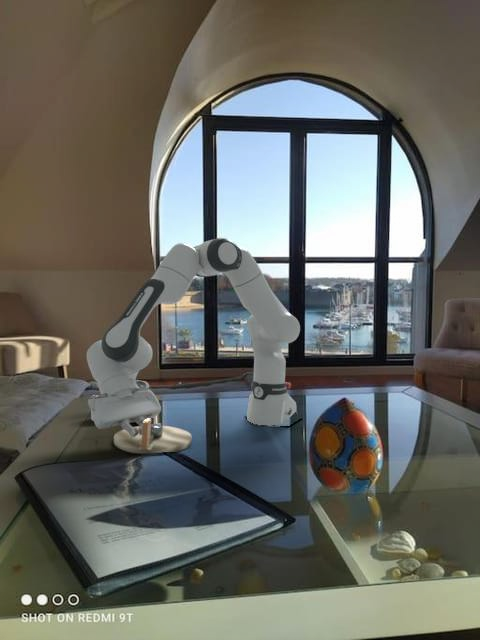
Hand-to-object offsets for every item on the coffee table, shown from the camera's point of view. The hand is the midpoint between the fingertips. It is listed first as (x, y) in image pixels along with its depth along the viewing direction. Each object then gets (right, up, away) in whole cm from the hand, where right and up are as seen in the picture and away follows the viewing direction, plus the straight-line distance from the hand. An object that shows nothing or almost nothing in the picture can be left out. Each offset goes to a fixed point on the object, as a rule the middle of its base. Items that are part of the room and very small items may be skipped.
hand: (139, 434), depth 121 cm
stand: (+2, -4, +10) cm, 11 cm away
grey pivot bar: (+2, -2, +7) cm, 8 cm away
